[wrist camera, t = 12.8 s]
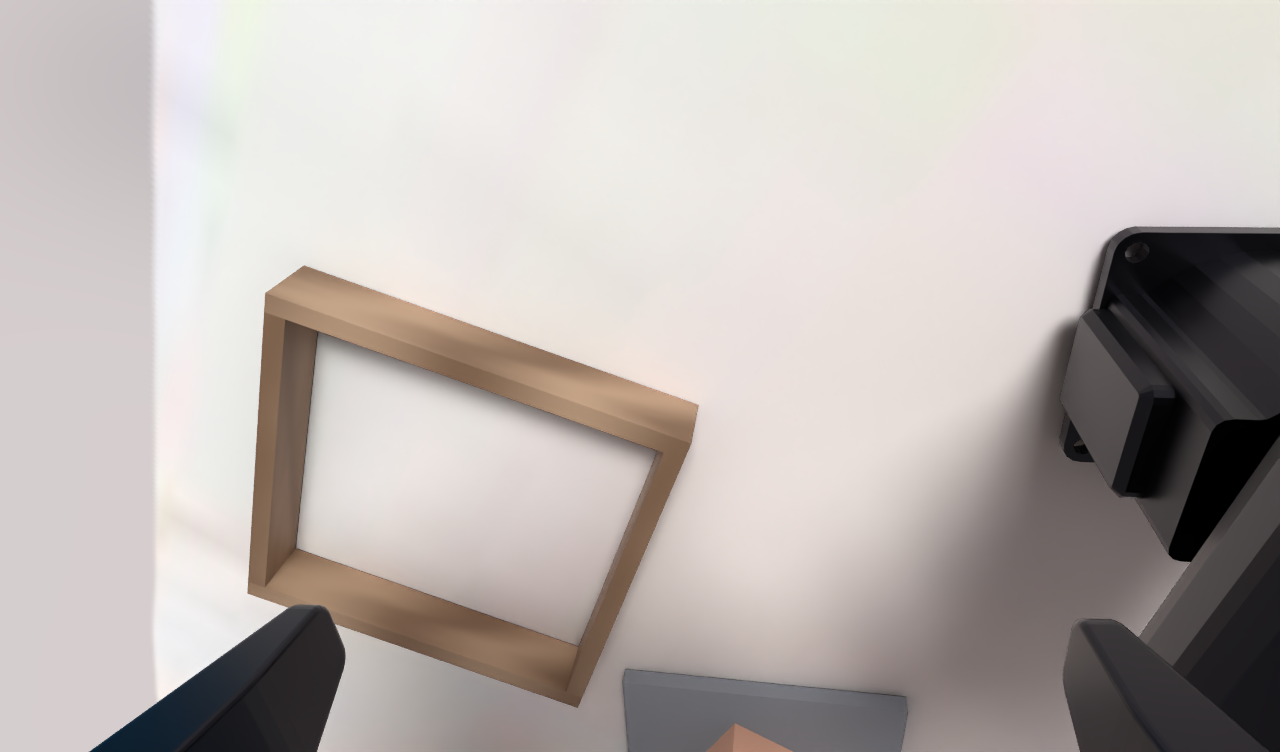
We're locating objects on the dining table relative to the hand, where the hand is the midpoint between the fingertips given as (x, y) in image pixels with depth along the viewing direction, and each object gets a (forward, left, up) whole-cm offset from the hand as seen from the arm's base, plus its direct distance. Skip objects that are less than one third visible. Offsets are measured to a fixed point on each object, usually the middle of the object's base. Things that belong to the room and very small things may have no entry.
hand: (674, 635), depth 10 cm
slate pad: (-1, +22, -13) cm, 25 cm away
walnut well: (+9, +9, -13) cm, 18 cm away
